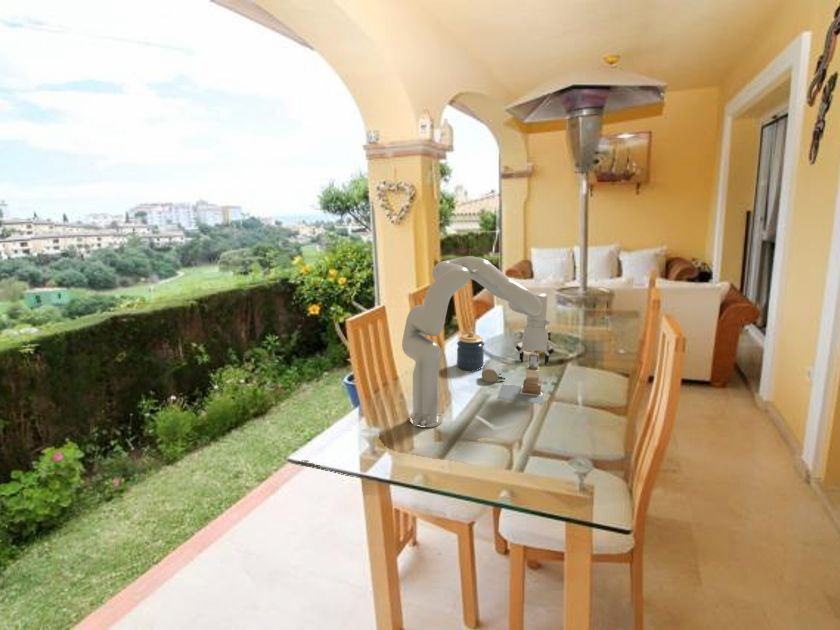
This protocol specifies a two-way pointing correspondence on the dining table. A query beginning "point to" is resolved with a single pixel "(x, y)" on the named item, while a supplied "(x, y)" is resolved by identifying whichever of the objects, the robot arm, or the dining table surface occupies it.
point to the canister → (470, 352)
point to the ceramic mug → (491, 372)
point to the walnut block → (532, 387)
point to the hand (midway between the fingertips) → (533, 362)
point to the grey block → (533, 361)
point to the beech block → (532, 376)
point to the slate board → (519, 394)
